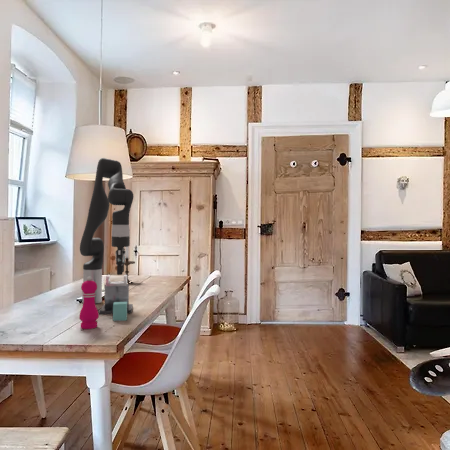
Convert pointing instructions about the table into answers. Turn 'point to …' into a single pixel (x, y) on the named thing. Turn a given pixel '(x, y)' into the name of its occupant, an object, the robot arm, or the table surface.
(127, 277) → the candlestick
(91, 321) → the pepper mill
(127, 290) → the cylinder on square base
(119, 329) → the table surface
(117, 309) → the turquoise cube
